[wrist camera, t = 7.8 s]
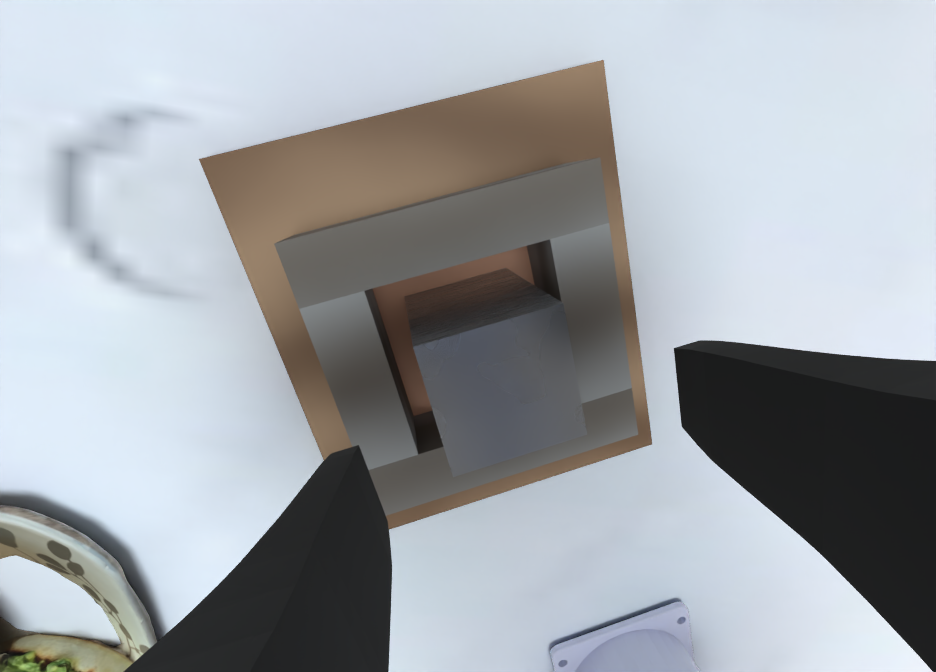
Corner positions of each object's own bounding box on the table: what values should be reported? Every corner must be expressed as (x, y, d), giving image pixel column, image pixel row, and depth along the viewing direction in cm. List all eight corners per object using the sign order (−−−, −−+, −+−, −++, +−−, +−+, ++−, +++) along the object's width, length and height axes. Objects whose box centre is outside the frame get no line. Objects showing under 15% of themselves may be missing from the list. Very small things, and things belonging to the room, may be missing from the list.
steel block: (526, 361, 19) (587, 434, 13) (432, 390, 18) (452, 477, 13) (506, 267, 17) (563, 303, 12) (404, 296, 17) (412, 347, 11)
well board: (643, 435, 22) (693, 482, 18) (358, 527, 21) (351, 596, 17) (593, 66, 17) (650, 30, 13) (207, 160, 15) (154, 150, 12)
